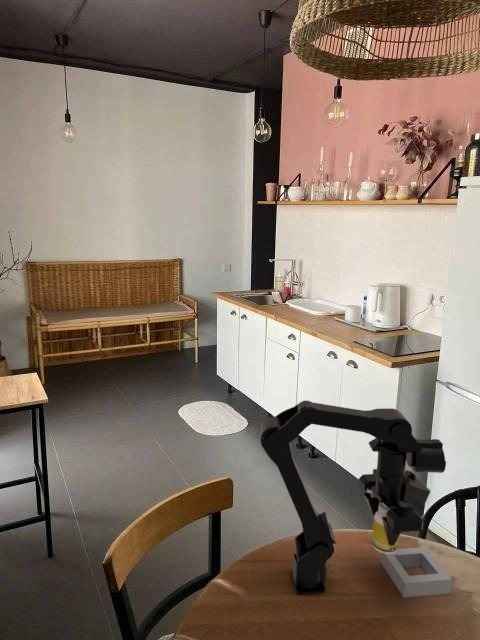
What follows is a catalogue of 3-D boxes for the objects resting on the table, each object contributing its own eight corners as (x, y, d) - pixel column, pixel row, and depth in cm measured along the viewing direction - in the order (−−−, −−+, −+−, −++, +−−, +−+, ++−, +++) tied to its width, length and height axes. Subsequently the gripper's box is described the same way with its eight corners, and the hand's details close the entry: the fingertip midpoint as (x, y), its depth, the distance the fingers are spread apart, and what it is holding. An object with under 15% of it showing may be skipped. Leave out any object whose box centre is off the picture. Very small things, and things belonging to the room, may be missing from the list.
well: (403, 597, 101) (404, 583, 100) (381, 563, 112) (382, 550, 111) (450, 593, 103) (452, 579, 102) (424, 560, 113) (425, 547, 113)
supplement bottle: (392, 558, 99) (396, 515, 97) (368, 548, 102) (371, 506, 100) (401, 546, 103) (404, 504, 101) (377, 536, 106) (380, 496, 105)
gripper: (451, 490, 92) (444, 562, 94) (405, 449, 110) (399, 510, 112) (398, 493, 90) (391, 566, 92) (359, 451, 108) (355, 513, 111)
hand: (385, 536), depth 102 cm, fingers closed on supplement bottle, 5 cm apart
